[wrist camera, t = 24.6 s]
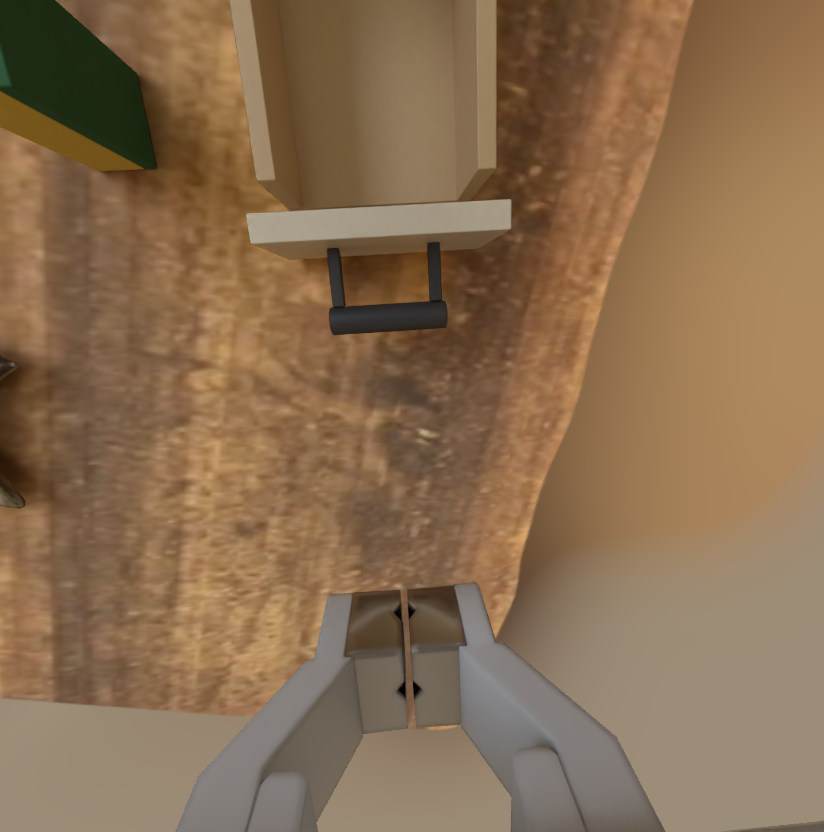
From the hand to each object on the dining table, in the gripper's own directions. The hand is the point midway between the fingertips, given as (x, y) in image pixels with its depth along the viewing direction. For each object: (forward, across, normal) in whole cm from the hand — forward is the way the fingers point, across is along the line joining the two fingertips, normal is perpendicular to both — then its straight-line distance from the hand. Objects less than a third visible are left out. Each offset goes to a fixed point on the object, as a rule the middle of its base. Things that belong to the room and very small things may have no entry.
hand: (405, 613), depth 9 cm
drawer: (+18, 0, -14) cm, 23 cm away
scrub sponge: (+19, +14, -16) cm, 29 cm away
